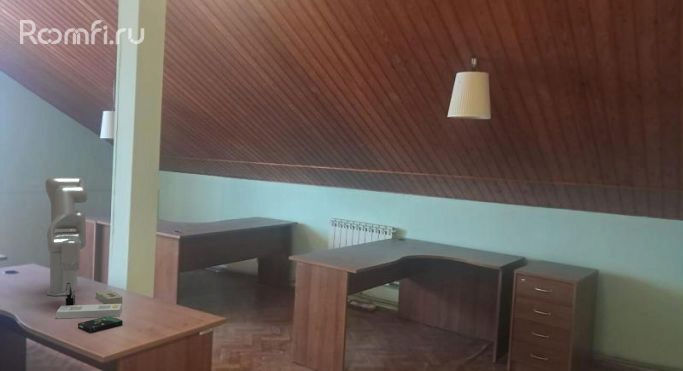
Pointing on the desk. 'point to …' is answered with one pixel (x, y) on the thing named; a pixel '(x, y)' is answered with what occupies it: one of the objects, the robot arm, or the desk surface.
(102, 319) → the disk drive
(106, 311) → the white device panel
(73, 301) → the plug
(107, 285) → the desk surface
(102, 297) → the electrical outlet
